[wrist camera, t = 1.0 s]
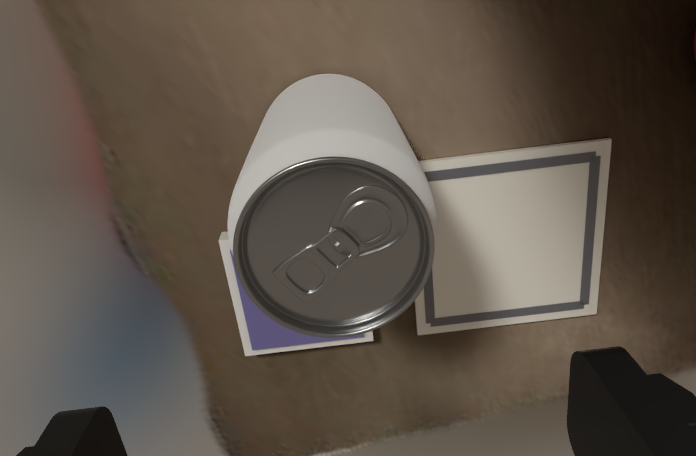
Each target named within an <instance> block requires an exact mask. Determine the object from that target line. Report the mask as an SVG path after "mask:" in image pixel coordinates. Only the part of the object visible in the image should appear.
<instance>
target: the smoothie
mask: <svg viewBox="0 0 696 456" xmlns="http://www.w3.org/2000/svg"><path fill="white" fill-rule="evenodd" d="M693 47H694V54H695V61H696V30H695V36H694V42H693Z"/></svg>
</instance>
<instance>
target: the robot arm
mask: <svg viewBox="0 0 696 456" xmlns="http://www.w3.org/2000/svg"><path fill="white" fill-rule="evenodd" d="M567 428H568V434H569V439H570V443H571V446H572V449H573V451H574V454H575V456H696V397H695V396H694V394H693V393H691V392H690V391H688V390H687V389H685V388H683V387H682V386H680V385H678V384H677V383H675V382H674V381H672V380H670V379H669V378H667V377H666V376H664V375H662V374H661V373H659V374H651V375H646V373H645V372H644V371H643V370H642V369H641V367H640V366H639V365H638V364H637V363H636V361H635V360H634V359H633V358H632V357H631V355H630V354H629V353H628V352H627V351H626V350H625V349H624V348H622V347H609V348H601V349H593V350H584V351H576V352H574V353H573V355H572V357H571V363H570V379H569V395H568V411H567ZM16 456H127V453H126V450H125V448H124V445H123V442H122V440H121V437H120V434H119V432H118V429H117V426H116V423H115V421H114V418H113V416H112V413H111V412H110V410H109V409H108V408H106V407H95V408H86V409H78V410H70V411H62V412H59V413H57V414H56V415H55V416H53V418H52V419H51V420H50V422H49V424H48V425H47V427H46V429H45V430H44V432H43V433H42V435H41V436H40V438H39V440H38V441H37V443H36V444H35V446H32V447H25V448H24V449H23V450H22V451H21V452H20V453H19V454H17V455H16Z"/></svg>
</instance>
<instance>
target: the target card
mask: <svg viewBox="0 0 696 456" xmlns="http://www.w3.org/2000/svg"><path fill="white" fill-rule="evenodd" d="M611 143H612V139H610V138H603V139H595V140H587V141H579V142H570V143H562V144H554V145H546V146H537V147H529V148H521V149H513V150H504V151H496V152H488V153H480V154H471V155H463V156H455V157H447V158H438V159H430V160H422V161H418V162H419V164H420V166H421V168H422V170H423V172H424V174H425V176H426V178H427V180H428V182H429V185H430V187H431V190H432V193H433V196H434V199H435V204H436V209H437V217H438V230H437V238H436V244H435V248H434V259H433V264H432V268H431V272H430V275H429V277H428V280H427V282H426V284H425V286H424V288H423V289H422V291H421V293H420V294H419V296H418V297H417V298H416V300H415V313H416V326H417V334H418V335H426V334H434V333H443V332H451V331H459V330H468V329H476V328H485V327H493V326H501V325H510V324H518V323H527V322H535V321H543V320H552V319H560V318H569V317H577V316H585V315H594V314H597V303H598V292H599V280H600V269H601V257H602V246H603V235H604V223H605V212H606V200H607V189H608V178H609V166H610V155H611Z"/></svg>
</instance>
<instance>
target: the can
mask: <svg viewBox="0 0 696 456" xmlns="http://www.w3.org/2000/svg"><path fill="white" fill-rule="evenodd" d="M437 230H438V217H437V209H436V204H435V199H434V196H433V193H432V190H431V187H430V185H429V182H428V180H427V178H426V176H425V174H424V172H423V170H422V168H421V166H420V164H419V162H418V160H417V158H416V156H415V154H414V152H413V150H412V148H411V146H410V144H409V142H408V141H407V139H406V137H405V135H404V133H403V131H402V129H401V127H400V126H399V124H398V122H397V120H396V118H395V116H394V115H393V113H392V111H391V110H390V108H389V107H388V105H387V104H386V102H385V101H384V100H383V99H382V98H381V97H380V96H379V95H378V94H377V93H376V92H375V91H373V90H372V89H371V88H370V87H368V86H367V85H365V84H364V83H362V82H360V81H358V80H356V79H354V78H351V77H348V76H344V75H339V74H319V75H314V76H310V77H307V78H304V79H301V80H299V81H297V82H295V83H294V84H292V85H291V86H289V87H288V88H286V89H285V90H284V91H283V92H282V93H281V94H280V95H279V96H278V97H277V98H276V99H275V100H274V102H273V103H272V105H271V106H270V108H269V109H268V111H267V113H266V115H265V117H264V119H263V122H262V124H261V126H260V128H259V130H258V133H257V135H256V137H255V140H254V142H253V144H252V147H251V149H250V151H249V154H248V156H247V158H246V161H245V163H244V165H243V168H242V170H241V173H240V175H239V178H238V180H237V183H236V185H235V188H234V191H233V194H232V197H231V201H230V206H229V213H228V238H229V243H230V248H231V251H232V254H233V257H234V264H235V268H236V272H237V275H238V278H239V280H240V283H241V285H242V287H243V288H244V290H245V292H246V294H247V295H248V296H249V298H250V299H251V300H252V302H253V303H254V304H255V305H256V306H257V307H258V308H259V309H260V310H261V311H262V312H263V313H264V314H265V315H267V316H268V317H269V318H271V319H272V320H273V321H275V322H277V323H278V324H280V325H282V326H284V327H286V328H288V329H290V330H293V331H295V332H298V333H302V334H305V335H310V336H315V337H323V338H342V337H351V336H356V335H360V334H364V333H367V332H370V331H373V330H375V329H378V328H380V327H382V326H384V325H386V324H387V323H389V322H391V321H392V320H394V319H395V318H397V317H398V316H399V315H401V314H402V313H403V312H404V311H405V310H406V309H407V308H408V307H409V306H410V305H411V304H412V303H413V302H414V301H415V300H416V298H417V297H418V296H419V294H420V293H421V291H422V289H423V288H424V286H425V284H426V282H427V280H428V277H429V275H430V272H431V268H432V264H433V259H434V248H435V244H436V238H437Z"/></svg>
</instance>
